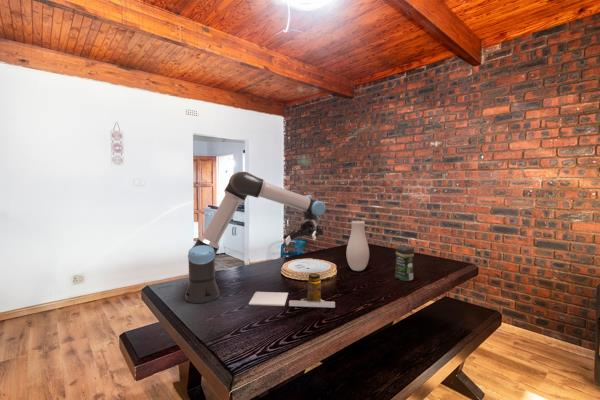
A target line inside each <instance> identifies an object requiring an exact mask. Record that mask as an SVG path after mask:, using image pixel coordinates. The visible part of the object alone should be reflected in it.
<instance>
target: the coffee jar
mask: <svg viewBox="0 0 600 400" xmlns="http://www.w3.org/2000/svg"><path fill="white" fill-rule="evenodd" d="M414 256H415V250H414V248H413V247H409V246H406V245H397V246H396V247H395V261H396V262H395V268H394V270H395V271H394V277H395V278H396V279H398V280H400V281H402V282H403V281H404V282H412V281H413V280H414V266H413V265H414Z"/></svg>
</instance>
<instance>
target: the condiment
mask: <svg viewBox="0 0 600 400" xmlns="http://www.w3.org/2000/svg"><path fill="white" fill-rule="evenodd" d="M307 279H308V280H307V297H305V298H304V297H303V298H301V299H300V301H325V300H323V299H322V298H321V296H322V290H321V289H322V288H321V287H322V281H321V274H319V273H316V272H315V273H309V274H308V278H307Z"/></svg>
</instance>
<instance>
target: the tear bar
mask: <svg viewBox="0 0 600 400" xmlns="http://www.w3.org/2000/svg"><path fill="white" fill-rule="evenodd" d="M288 307H307V308H336V302H335V301H329V300H328V301H327V300H324V301H302V300H295V299H294V300H292V299H290V300H289V301H288Z"/></svg>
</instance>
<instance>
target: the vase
mask: <svg viewBox="0 0 600 400" xmlns="http://www.w3.org/2000/svg"><path fill="white" fill-rule="evenodd" d="M365 226H366V223H365V221H363V220H353V221H351V230H350V235H349V240H348V242H347V246H346V252H345V254H346V260H347V264H348V265H349V268H350V269H351V270H352V271H354V272H355V271H356V272H361V271H364V270H365V269H366V267H367V266H368V263H369V260H370V248H369V244H368V239H367V236H366V231H365V230H366V229H365Z"/></svg>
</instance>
